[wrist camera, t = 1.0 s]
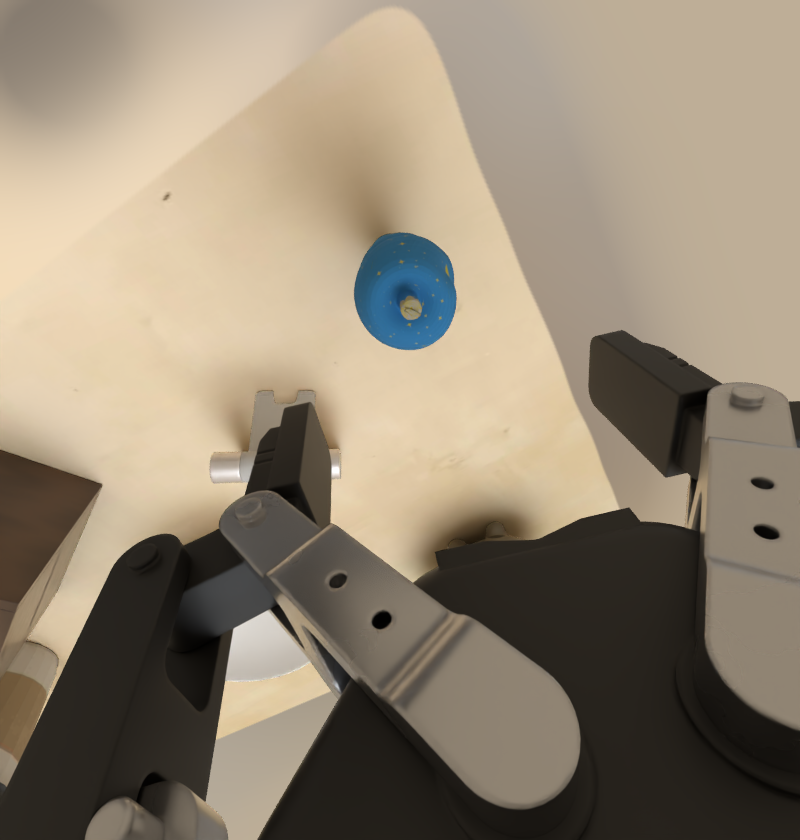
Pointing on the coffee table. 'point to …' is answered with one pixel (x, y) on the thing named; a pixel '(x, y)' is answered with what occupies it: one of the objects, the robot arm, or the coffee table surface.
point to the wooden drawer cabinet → (35, 542)
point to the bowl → (262, 651)
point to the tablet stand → (264, 417)
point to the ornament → (405, 291)
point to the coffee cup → (22, 703)
